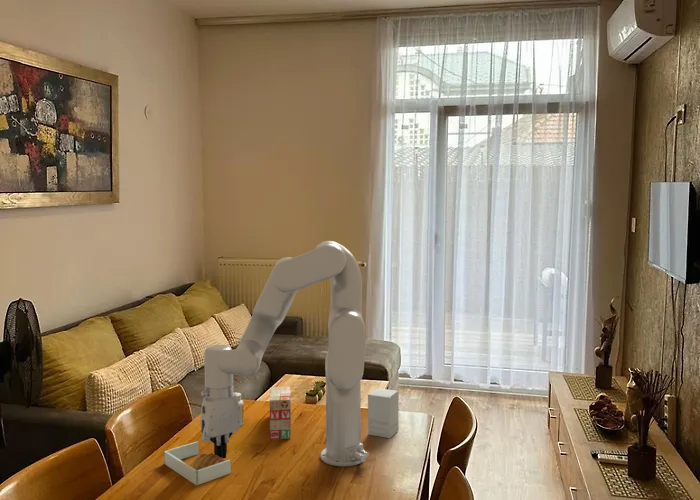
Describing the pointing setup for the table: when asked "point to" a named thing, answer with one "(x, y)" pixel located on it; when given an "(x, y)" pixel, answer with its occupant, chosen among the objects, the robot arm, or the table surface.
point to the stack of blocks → (280, 413)
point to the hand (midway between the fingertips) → (220, 457)
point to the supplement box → (383, 413)
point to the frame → (195, 476)
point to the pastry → (206, 460)
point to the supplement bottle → (240, 408)
